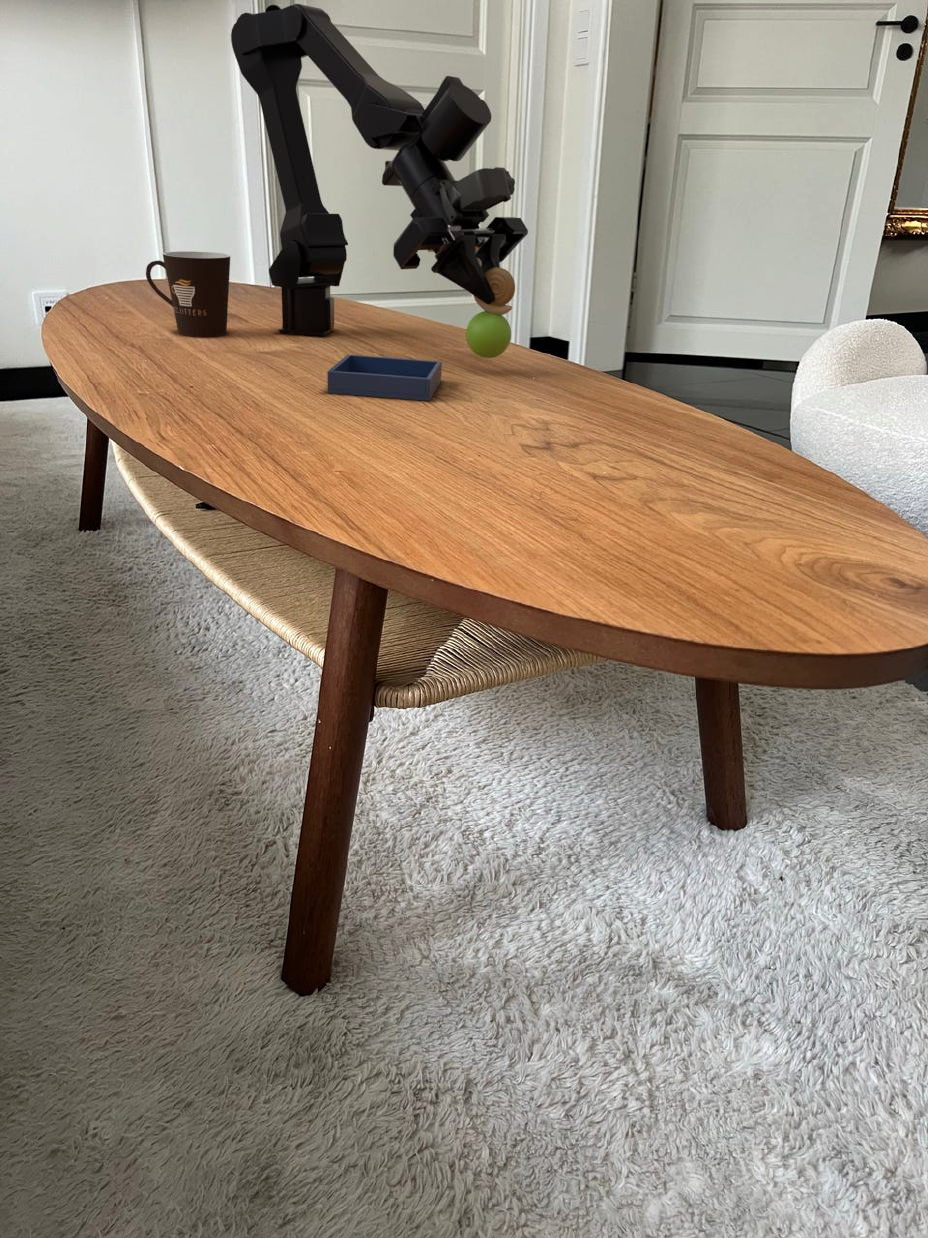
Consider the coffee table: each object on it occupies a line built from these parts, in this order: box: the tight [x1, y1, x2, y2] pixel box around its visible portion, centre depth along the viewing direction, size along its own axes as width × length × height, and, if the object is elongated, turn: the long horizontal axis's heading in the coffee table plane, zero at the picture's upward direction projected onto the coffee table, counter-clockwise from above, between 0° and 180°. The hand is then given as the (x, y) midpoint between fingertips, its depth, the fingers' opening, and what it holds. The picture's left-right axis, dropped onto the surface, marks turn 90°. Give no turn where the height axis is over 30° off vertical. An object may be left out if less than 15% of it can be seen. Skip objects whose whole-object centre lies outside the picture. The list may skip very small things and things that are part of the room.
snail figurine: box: [465, 247, 516, 359], centre depth 107 cm, size 5×6×12 cm
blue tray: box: [326, 353, 443, 402], centre depth 100 cm, size 11×10×2 cm
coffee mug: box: [145, 250, 231, 338], centre depth 122 cm, size 12×9×10 cm
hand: (497, 301), depth 106 cm, fingers closed on snail figurine
